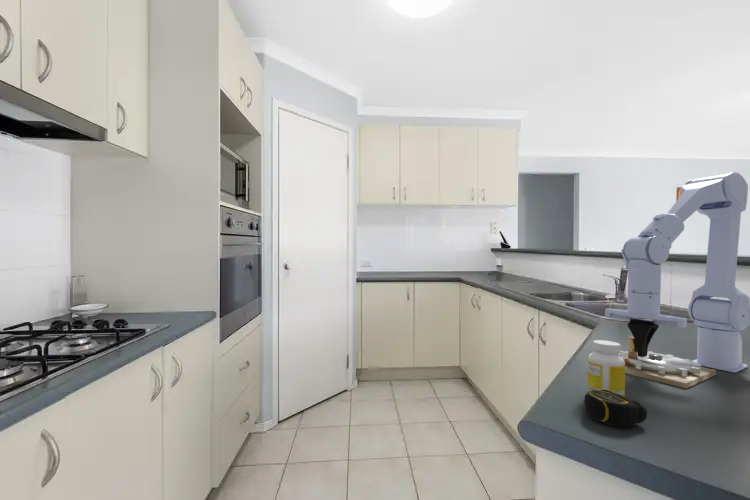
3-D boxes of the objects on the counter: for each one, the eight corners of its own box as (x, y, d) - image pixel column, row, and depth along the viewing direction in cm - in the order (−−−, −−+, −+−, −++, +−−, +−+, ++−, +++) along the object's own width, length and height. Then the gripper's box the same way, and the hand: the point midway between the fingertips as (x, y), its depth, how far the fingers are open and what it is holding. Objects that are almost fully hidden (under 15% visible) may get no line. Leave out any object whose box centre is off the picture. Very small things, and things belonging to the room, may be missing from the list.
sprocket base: (631, 356, 93) (632, 351, 93) (715, 374, 80) (716, 368, 80) (597, 366, 84) (597, 360, 84) (685, 388, 71) (686, 381, 71)
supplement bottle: (625, 399, 64) (626, 342, 65) (623, 409, 60) (625, 348, 60) (589, 391, 68) (590, 337, 68) (585, 400, 63) (586, 342, 63)
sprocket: (662, 355, 90) (662, 331, 90) (722, 376, 75) (722, 348, 75) (599, 354, 90) (600, 330, 90) (646, 374, 74) (647, 346, 74)
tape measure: (649, 429, 54) (650, 403, 54) (613, 434, 52) (614, 407, 52) (607, 409, 60) (607, 386, 60) (573, 413, 58) (574, 389, 58)
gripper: (598, 289, 84) (597, 350, 84) (677, 297, 72) (676, 367, 72) (613, 289, 88) (612, 346, 88) (691, 295, 76) (689, 362, 76)
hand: (642, 356), depth 80 cm, fingers closed
